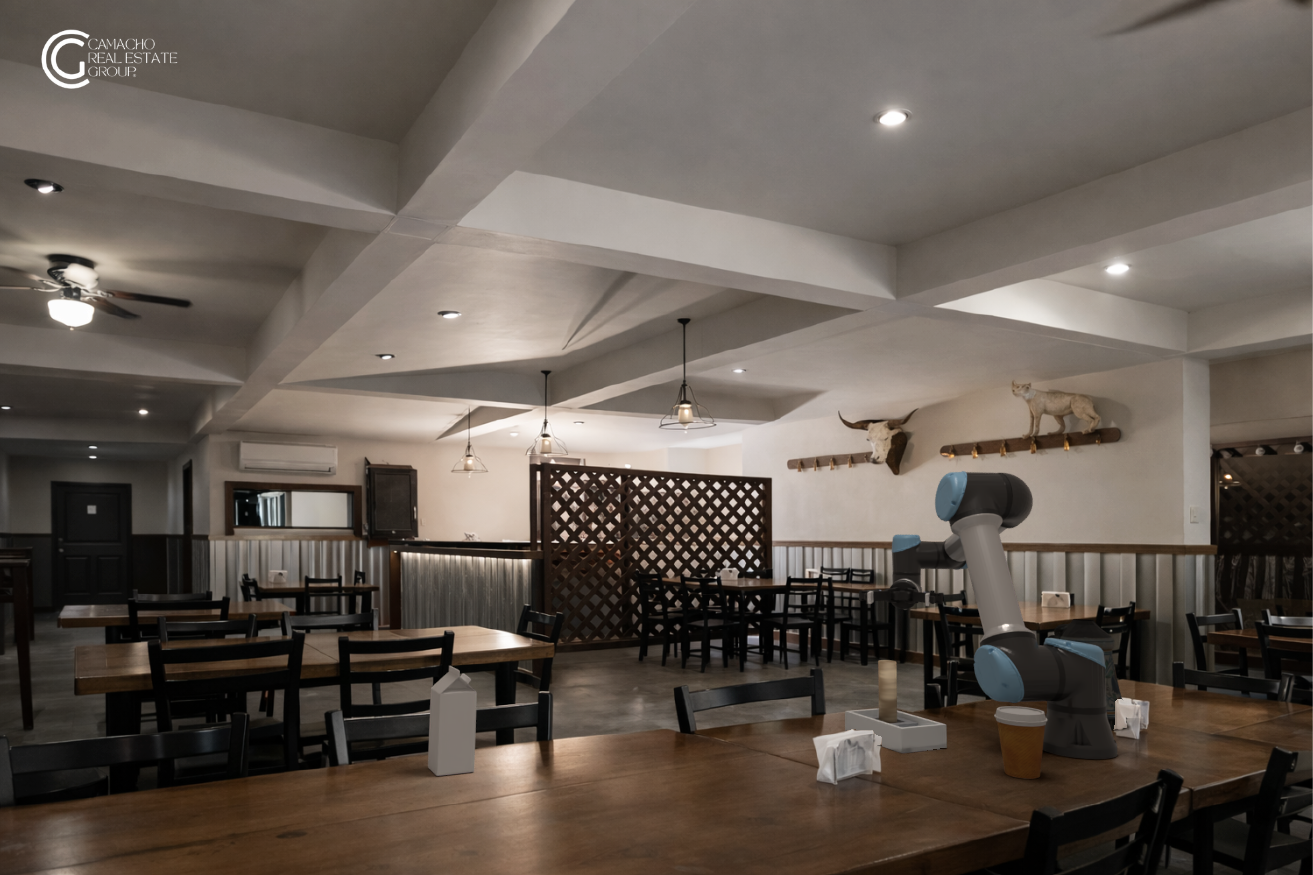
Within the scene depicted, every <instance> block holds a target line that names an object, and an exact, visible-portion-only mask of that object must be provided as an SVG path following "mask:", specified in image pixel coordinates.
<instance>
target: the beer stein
mask: <svg viewBox="0 0 1313 875" xmlns="http://www.w3.org/2000/svg"><path fill="white" fill-rule="evenodd" d="M1047 638H1054V639H1061V640H1068V641H1075V642H1081V643H1086V644H1092V645H1096V646H1098V647H1100V648H1101V649H1102V650H1103V653H1104V660H1105V666H1106V669H1105V684H1106V712H1107V719H1108V722H1109V724H1110V727H1111V730H1112V731H1114V730H1113V729H1114V725H1115V701H1116V700H1117V699H1122V700H1123V696H1122V693H1121V690H1120V686H1119V681H1118V678H1117V672H1116V666H1115V661H1114V655H1113V648H1114V647H1115V639H1114V638H1113V637H1112V636H1111V635H1110V634H1109V633H1108V632H1106V630H1103V629H1102V628H1101V627H1100V626H1099V625H1098V624H1097V623H1096V621H1095V619H1088V618H1087V619H1085V618H1084V619H1083V618H1074V619H1072V620H1071V622H1069V623H1063V624H1062V623H1061V624H1058V625H1057V626H1056V627H1055V629H1054V630H1053V634H1049V636H1047Z"/></svg>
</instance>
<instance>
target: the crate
mask: <svg viewBox="0 0 1313 875" xmlns="http://www.w3.org/2000/svg"><path fill="white" fill-rule="evenodd" d="M851 729H856V730H873V731H874V733H875V734H876V735H878V736H881V737H882V746H881V747H883V748H886V749H887V750H888V749H889V750H892V751H894V752H896V753H899V754H908V753H914V752H915V753H916V752H927V750H928V751H934V750H933V749H937V750H941V749H940V748H947V747H948V744H947V740H948V739H947V734H948V733H947V724H945V723H942V722H939V721H934V720H932V719H928V718H926V717H925V718H924V717H921V716H918V715H914V714H911V713H907V712H904V711H901V710H897V723H886V722H883V721H880V720H879V707H878V708H868V709H865V708H864V709H856V710H854V709H852V710H845V711H844V732H845V731H847V730H851Z"/></svg>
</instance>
